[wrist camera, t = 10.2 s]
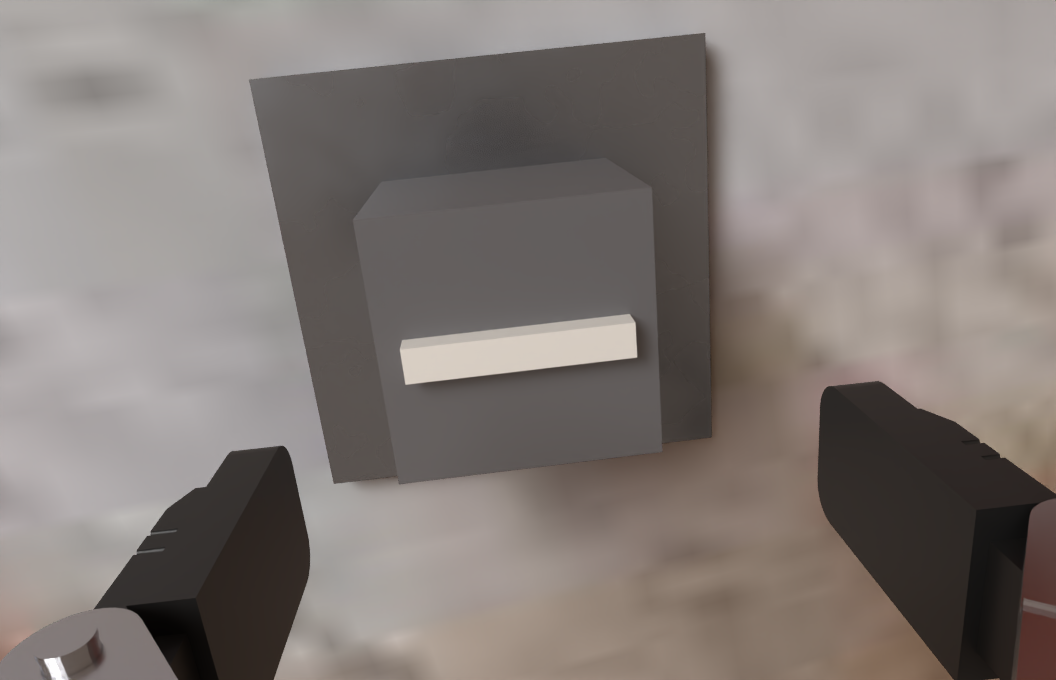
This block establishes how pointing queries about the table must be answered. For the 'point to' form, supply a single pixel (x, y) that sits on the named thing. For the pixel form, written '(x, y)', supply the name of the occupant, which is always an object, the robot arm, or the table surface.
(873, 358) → the table surface
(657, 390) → the grey box white handle
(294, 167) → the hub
